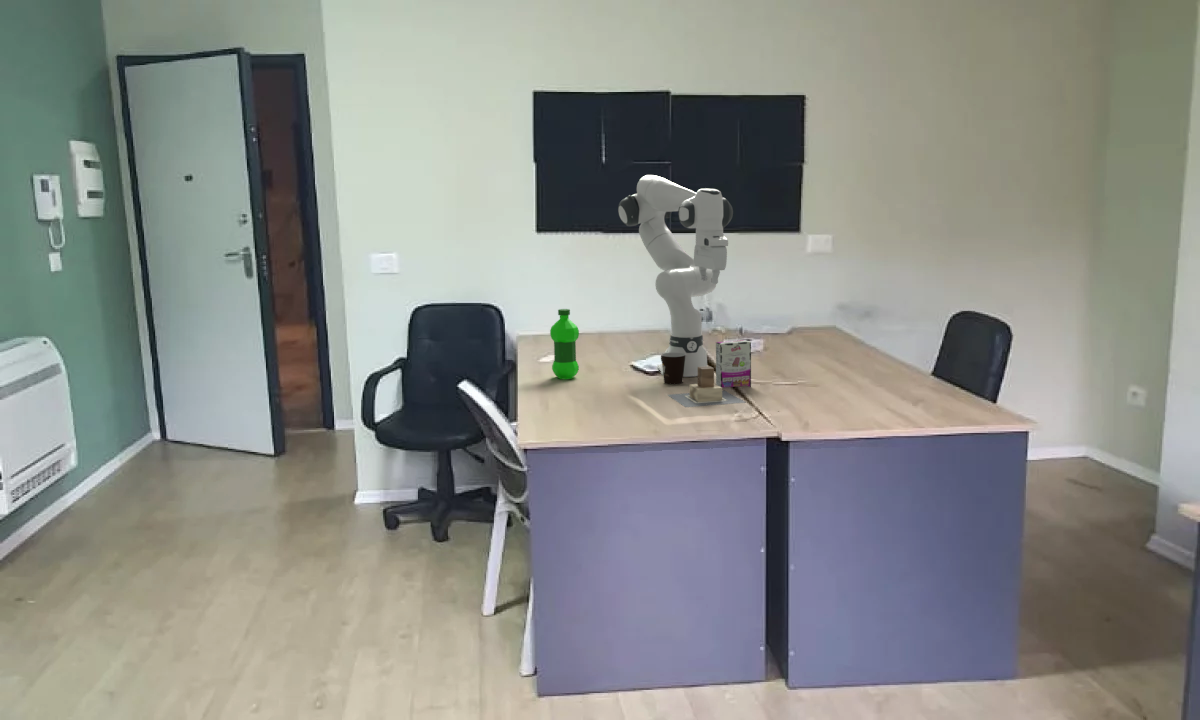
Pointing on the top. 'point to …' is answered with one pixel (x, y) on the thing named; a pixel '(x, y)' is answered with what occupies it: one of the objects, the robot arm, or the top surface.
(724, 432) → the top surface
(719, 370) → the candy bar box
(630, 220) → the robot arm
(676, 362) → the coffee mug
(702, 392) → the maple base block
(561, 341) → the plastic bottle
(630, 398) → the top surface
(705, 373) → the walnut block
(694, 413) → the top surface
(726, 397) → the board
